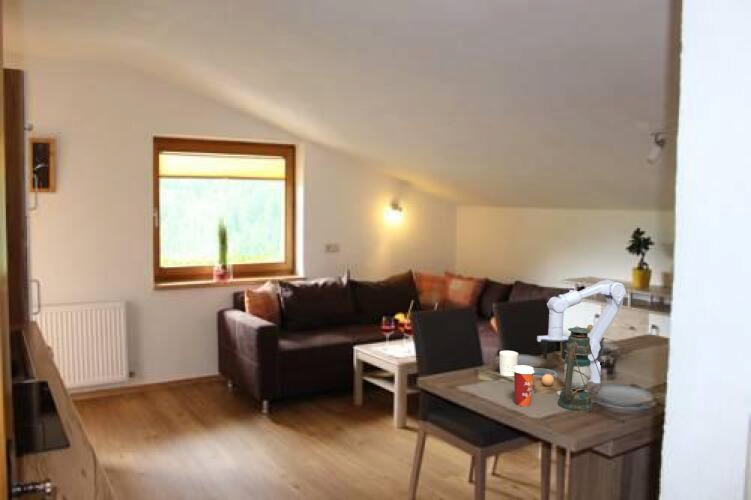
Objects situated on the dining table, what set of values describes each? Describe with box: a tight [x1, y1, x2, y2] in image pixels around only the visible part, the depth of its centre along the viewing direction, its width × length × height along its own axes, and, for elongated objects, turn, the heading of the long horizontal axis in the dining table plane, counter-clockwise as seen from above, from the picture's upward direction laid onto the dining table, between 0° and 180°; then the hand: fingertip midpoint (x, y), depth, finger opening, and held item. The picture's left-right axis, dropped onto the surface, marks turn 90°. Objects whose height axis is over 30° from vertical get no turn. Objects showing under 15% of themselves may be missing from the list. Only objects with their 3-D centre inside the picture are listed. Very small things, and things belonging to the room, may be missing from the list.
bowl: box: [533, 367, 558, 377], centre depth 280 cm, size 13×13×3 cm
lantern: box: [557, 325, 603, 412], centre depth 245 cm, size 19×14×30 cm
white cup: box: [499, 350, 519, 377], centre depth 284 cm, size 8×8×10 cm
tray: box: [532, 376, 565, 395], centre depth 267 cm, size 14×14×2 cm
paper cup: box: [513, 364, 535, 407], centre depth 247 cm, size 8×8×14 cm
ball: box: [542, 374, 554, 386], centre depth 267 cm, size 5×5×5 cm
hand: (554, 358), depth 276 cm, fingers open, 7 cm apart
